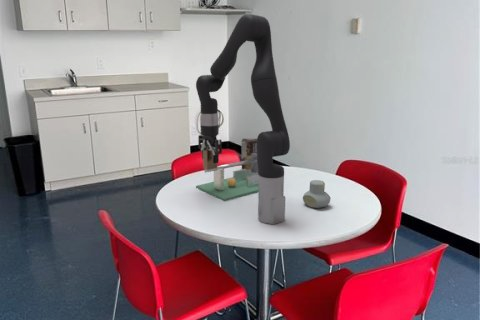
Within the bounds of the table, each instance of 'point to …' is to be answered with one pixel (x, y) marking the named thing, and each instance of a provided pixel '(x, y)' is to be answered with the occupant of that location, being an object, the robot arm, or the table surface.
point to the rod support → (254, 164)
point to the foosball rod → (219, 168)
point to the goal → (246, 177)
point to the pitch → (229, 190)
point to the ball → (231, 182)
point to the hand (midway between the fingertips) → (210, 161)
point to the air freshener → (316, 195)
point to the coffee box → (248, 151)
